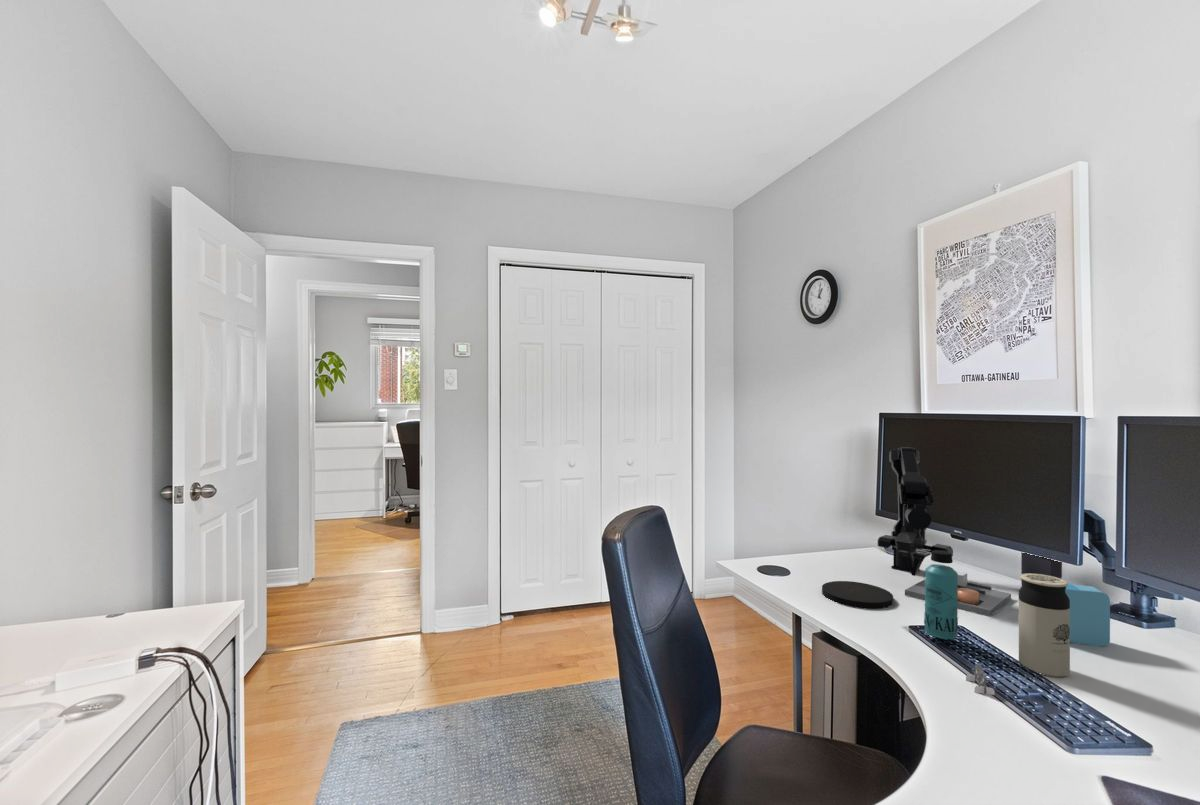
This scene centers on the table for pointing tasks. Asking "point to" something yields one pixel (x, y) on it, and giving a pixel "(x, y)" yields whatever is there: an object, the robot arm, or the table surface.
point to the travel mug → (1044, 625)
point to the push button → (967, 596)
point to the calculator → (1040, 566)
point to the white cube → (962, 578)
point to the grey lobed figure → (980, 681)
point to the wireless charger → (857, 594)
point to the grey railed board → (987, 604)
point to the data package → (1089, 615)
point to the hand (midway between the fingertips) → (913, 575)
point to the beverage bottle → (941, 597)
